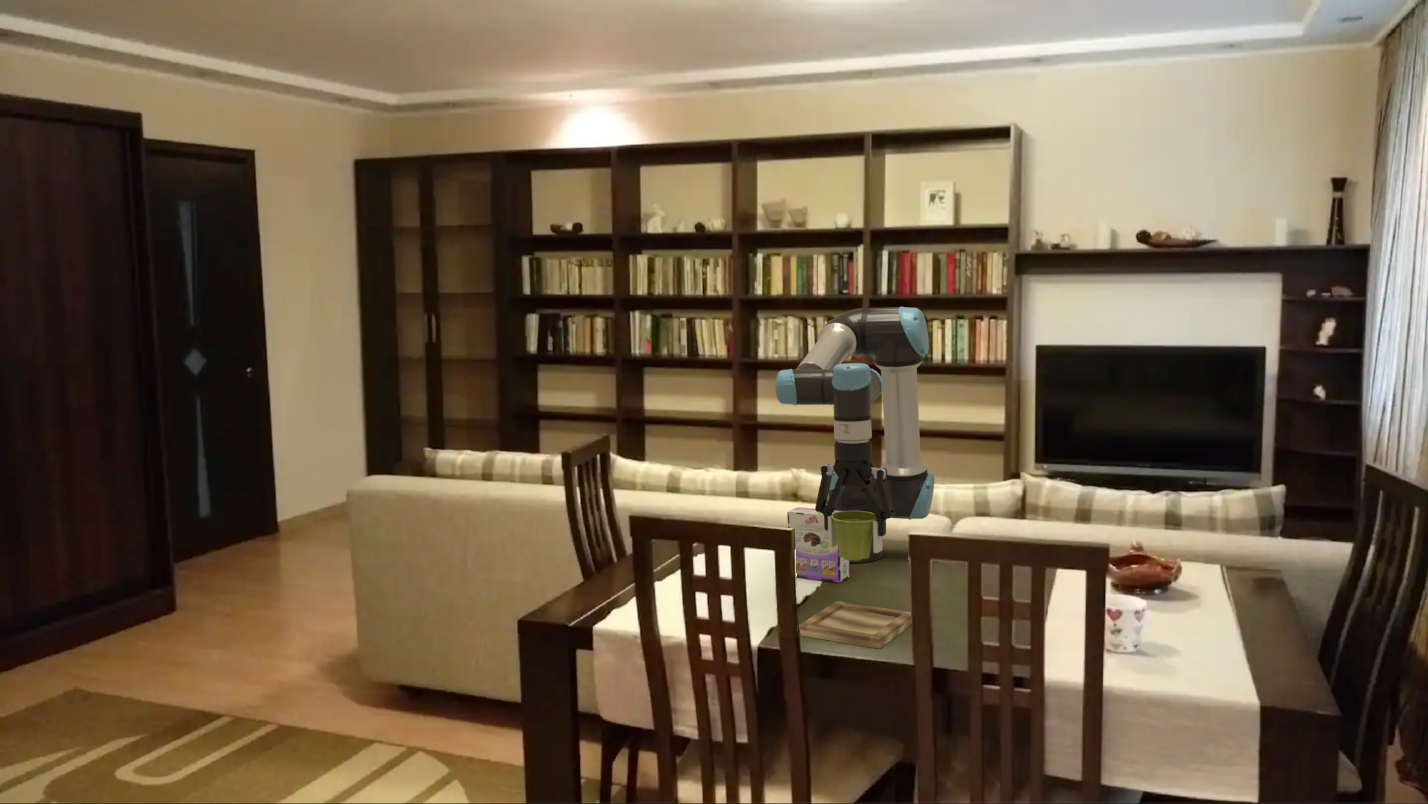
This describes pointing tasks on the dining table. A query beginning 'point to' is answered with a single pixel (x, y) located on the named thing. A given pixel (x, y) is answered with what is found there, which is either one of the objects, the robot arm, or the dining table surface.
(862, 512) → the plant pot
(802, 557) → the candy box
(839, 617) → the wooden tray
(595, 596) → the dining table surface
